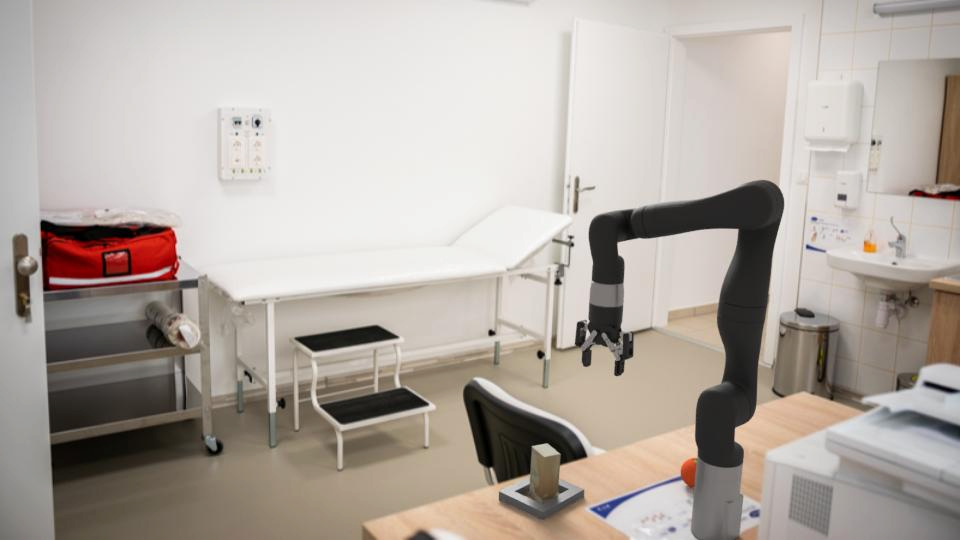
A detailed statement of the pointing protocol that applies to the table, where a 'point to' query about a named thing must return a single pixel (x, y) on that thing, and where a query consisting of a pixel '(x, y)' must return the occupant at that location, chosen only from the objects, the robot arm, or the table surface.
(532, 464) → the skincare box
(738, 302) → the robot arm
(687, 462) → the clementine
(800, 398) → the table surface
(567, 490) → the holder
